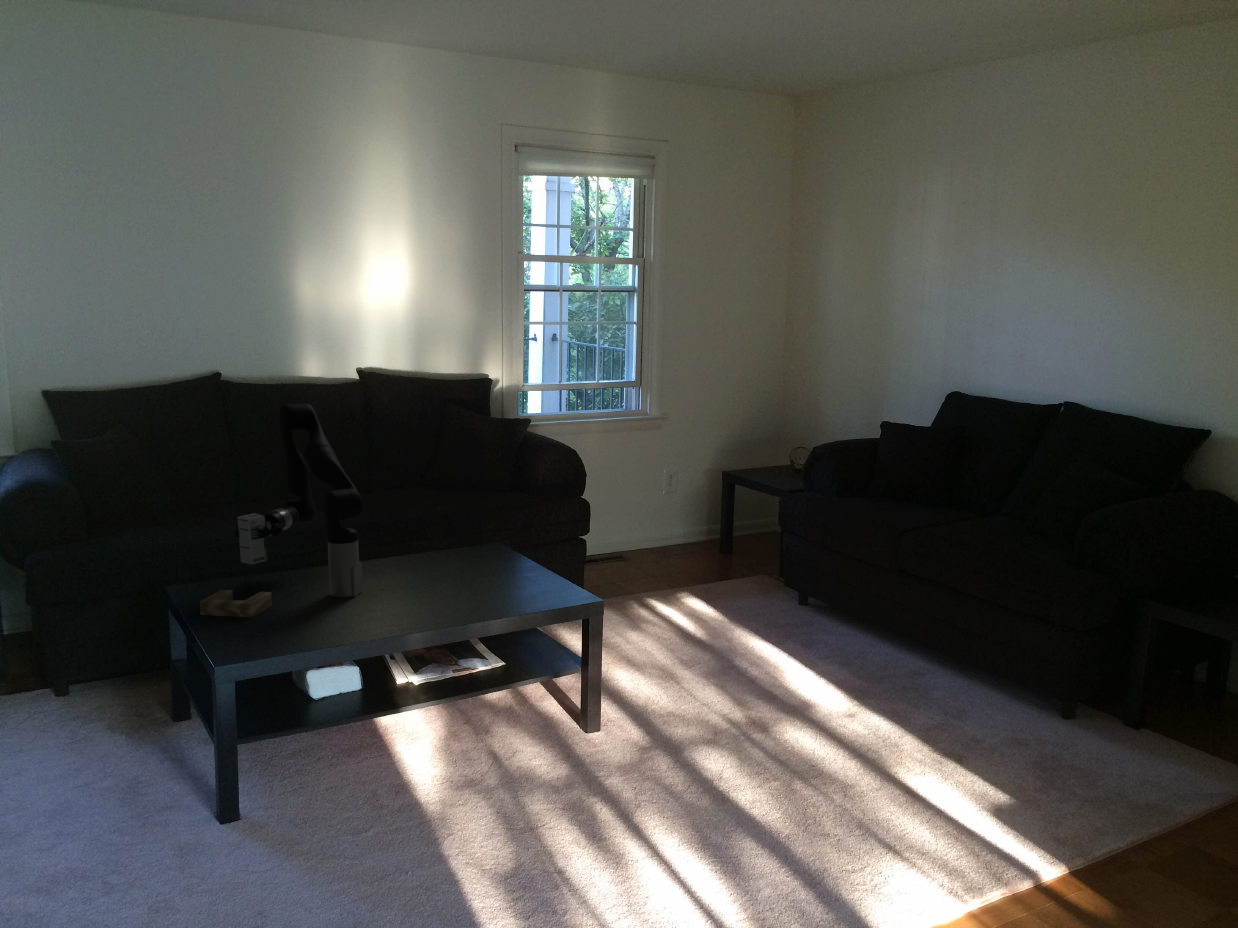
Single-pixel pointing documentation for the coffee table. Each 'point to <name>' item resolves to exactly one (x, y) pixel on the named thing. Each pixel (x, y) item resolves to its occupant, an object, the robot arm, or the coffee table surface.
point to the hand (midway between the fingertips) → (248, 534)
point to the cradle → (235, 604)
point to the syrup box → (252, 539)
